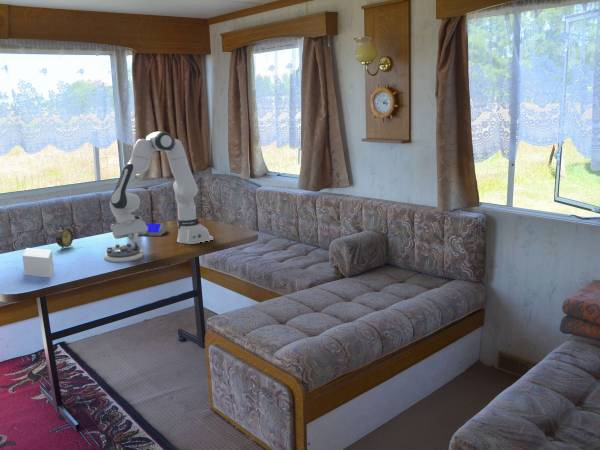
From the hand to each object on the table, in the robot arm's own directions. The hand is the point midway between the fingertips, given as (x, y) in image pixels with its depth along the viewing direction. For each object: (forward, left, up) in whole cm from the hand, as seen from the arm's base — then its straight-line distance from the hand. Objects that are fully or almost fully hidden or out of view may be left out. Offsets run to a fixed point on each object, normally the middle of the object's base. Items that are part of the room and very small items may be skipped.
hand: (135, 241), depth 309 cm
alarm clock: (+39, -33, -8) cm, 51 cm away
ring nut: (+7, +1, -6) cm, 9 cm away
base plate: (+7, +1, -8) cm, 11 cm away
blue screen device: (-11, -52, -9) cm, 54 cm away
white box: (+50, +13, -8) cm, 52 cm away
